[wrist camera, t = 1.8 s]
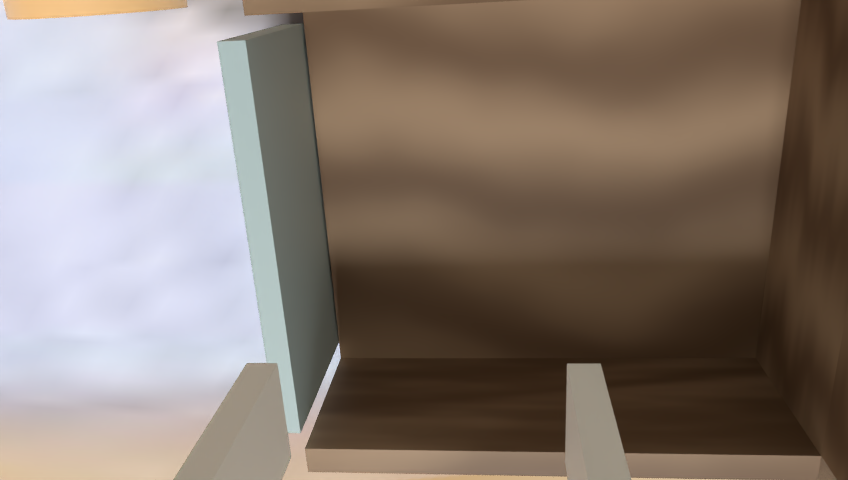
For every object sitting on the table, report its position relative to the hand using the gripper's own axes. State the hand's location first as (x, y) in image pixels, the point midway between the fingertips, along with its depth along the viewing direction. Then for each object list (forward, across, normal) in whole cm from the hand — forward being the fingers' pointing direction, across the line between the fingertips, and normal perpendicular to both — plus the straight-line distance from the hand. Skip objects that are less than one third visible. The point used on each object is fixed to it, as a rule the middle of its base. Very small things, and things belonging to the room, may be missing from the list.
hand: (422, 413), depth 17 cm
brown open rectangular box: (+19, +4, 0) cm, 20 cm away
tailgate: (+18, -7, 0) cm, 19 cm away
